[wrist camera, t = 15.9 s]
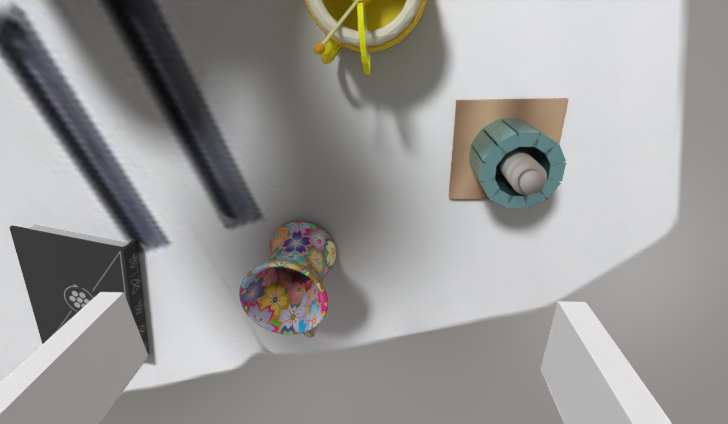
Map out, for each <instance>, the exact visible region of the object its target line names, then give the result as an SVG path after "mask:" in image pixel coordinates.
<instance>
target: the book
mask: <svg viewBox="0 0 728 424" xmlns="http://www.w3.org/2000/svg"><path fill="white" fill-rule="evenodd" d="M10 231H11V235H12V238H13V242H14V245H15V249H16V252H17V256H18V259H19V263H20V266H21V270H22V273H23V277H24V280H25V284H26V287H27V291H28V294H29V298H30V301H31V305H32V308H33V312H34V315H35V319H36V323H37V326H38V330H39V333H40V337H41V340H42V344H43V343H45V342H46V341H47V340H48V339H49V338H50V337H51V336H52V335H53V334H54V333H56V332H57V331H58V330H59V329H60V328H61V327H62V326H63V325H64V324H66V323H67V322H68V321H69V320H70V319H71V318H72V317H73V316H74V315H76V314H77V313H78V312H79V311H80V310H81V309H82V308H83V307H84V306H85V305H87V304H88V303H89V302H90V301H91V300H92V299H93V298H94V297H95V296H97V295H98V294H99V293H100V292H124V295H125V297H126V300H127V302H128V305H129V308H130V310H131V313H132V315H133V318H134V320H135V323H136V325H137V328H138V330H139V333H140V336H141V338H142V341H143V343H144V346H145V348H146V351H147V353H148V354H149V349H148V340H147V330H146V321H145V312H144V302H143V293H142V284H141V275H140V265H139V256H138V247H137V240H136V239H133V240H132V241H131V242H130V243H127V242H121V241H116V240H111V239H106V238H101V237H96V236H90V235H85V234H80V233H75V232H70V231H64V230H59V229H54V228H49V227H44V226H38V225H34V226H33V227H31V228H29V229H28V228H23V227H17V226H10Z"/></svg>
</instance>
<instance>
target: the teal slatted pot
mask: <svg viewBox="0 0 728 424" xmlns="http://www.w3.org/2000/svg"><path fill="white" fill-rule="evenodd" d="M483 129H484V130H482V129H481V130H480V132H479V133H478V134H477V136H476V137H475V139H474V140H473V142H472V143H471V144H472V145H470V155H469V162H470V165H471V167H472V169H473V171H474V173H475V175H476V177H477V179H478V180H479V182H480V184H481V186H482V187H483V189H484V191H485V193H486V194H487V196H488V198H489V199H490V200H492V201H494V202H496V203H497V204H499V205H501V206H503V207H506V208H526V206H527V207H528V208H529V207H531V206H533V205H535V204H537V203H539V202H542V201H544V200H546V198H545V197H547V198H548V197H549V196H550V195H551V194H552V193H553V192H554V190H555V189H556V188H557V187H558V186H559V185H560V182H559V181H562V178H563V174H564V169H565V165H566V162H564V161H566V160H565V158H564V155H563V153H562V150H561V148H560V145H559V144H558V143H557V142H556V141H555V140H553V139H552V138H550V137H549V136H547V135H546V134H544V133H543V132H541V131H540V130H538V129H537V128H536V127H534V126H532V125H531V124H529V123H527V122H526V121H524V120H522V119H520V118H501V120H500V119H498V120H496V121H494V122H492V123H490V124H489V125H487V126H485V127H483ZM518 147H529V151H528V154H529V155H530V156H531V157H532V158H533V159H535V160H536V161H537V162H538V163H539V164H540V165H541V166H542V167H543V168H544V169H545V171H546V173H547V180H546V183H545V186H544V188H543V189H542V190H541V191H540V192H538V193H536V194H531V195H523V194H520V193H518V192H516V191H515V190H514V188H513V187H512V186H511V184H510V183H509V182H508V180H507V179H506V178H505V177H504V175H503V174H496V167H497V165H498V163H499V162H500V161H501V159H502V158H503V157H504V155H505V154H506V153H508V152H510V151H512V150H514V149H516V148H518Z"/></svg>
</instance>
